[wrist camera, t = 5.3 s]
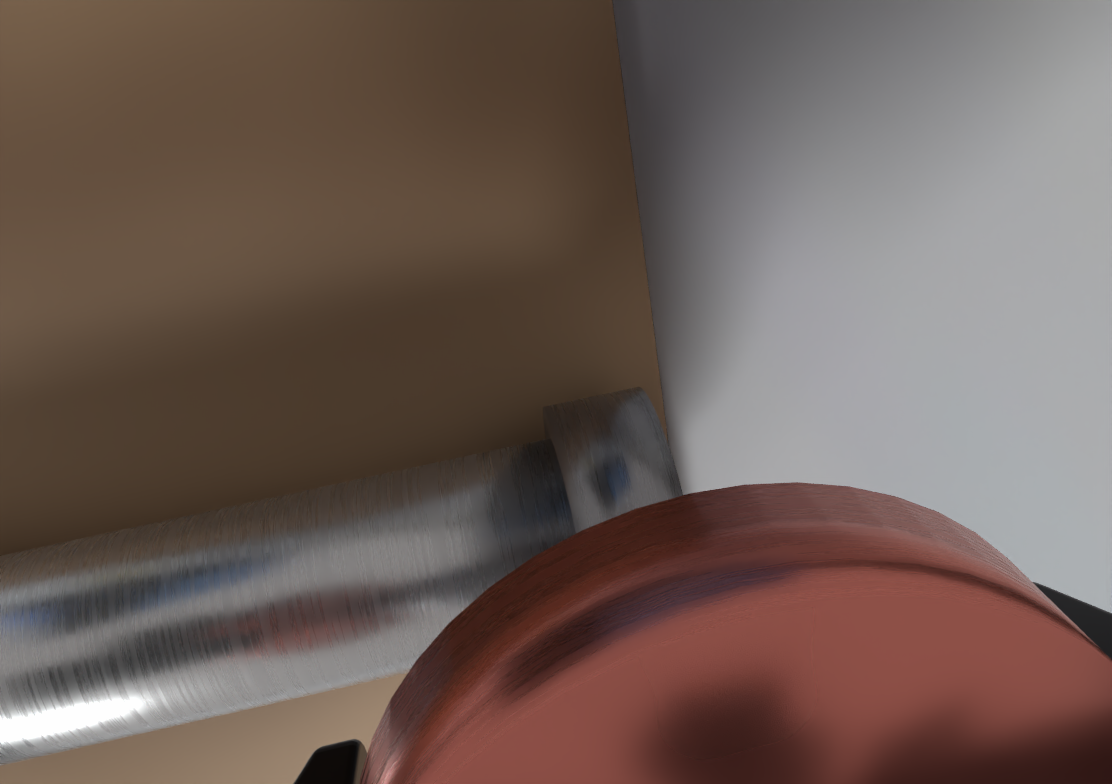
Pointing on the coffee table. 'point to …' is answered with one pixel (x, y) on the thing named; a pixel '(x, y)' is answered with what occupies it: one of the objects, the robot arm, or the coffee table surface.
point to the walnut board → (296, 277)
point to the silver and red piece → (570, 626)
